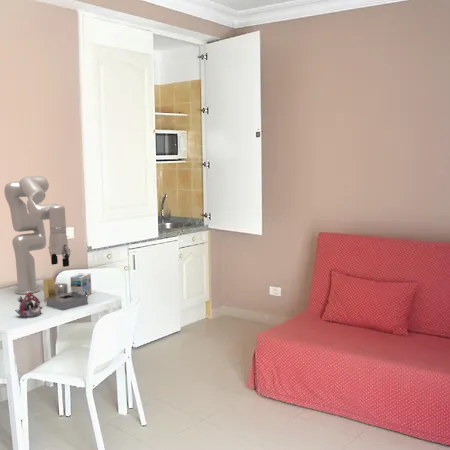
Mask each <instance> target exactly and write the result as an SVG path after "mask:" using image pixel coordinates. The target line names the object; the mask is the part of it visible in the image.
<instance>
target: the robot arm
mask: <svg viewBox="0 0 450 450" xmlns="http://www.w3.org/2000/svg"><path fill="white" fill-rule="evenodd" d="M49 184H50V183H49V181H48V179H47V178H46V177H44V176H42V175H37V176H36V175H35V176H30V175H29V176H25V177H24V176H23V178H20V180H19V181H17V180H16V181H9V182H7V183H6V184H5V185H4V189H3V190H4V197H5V200H6V202H7V204H8V206H9V210H10V211H9V212H10V217H11V224H12V227H13V231H15V232H18V233H21V232H22V233H21V234H17V235H15V236H14V237H13V239H12V241H11V242H12V247H13V251H14V257H15V264H16V265H15V268H16V281H17V283H16V285H15V286H16V287H17V289H15V290H14V293H15V294H17V295H26V294H27V293H28V292H31V293H32V294H34V293H37V292H40V287H37V279H36V264H35V263H36V262H35V258H34V256H33V255H32V254H31V252H32V251H39V250H43V249H45V248H46V246H47V237H46V231H45V225H44V221H46V220H47V221H48V220H49V239H48V240H49V241H48V242H49V243H48V247H47V248H48V250H49V251H48V252H49V254H50V255H49V256H50V259H51V260H50V261H51V265H52V266H53V265H57V264H59V262H58V261H59V260H58V256H59V255H61V257H62V258H61V260H62V267H63V268H65V267H69V266H70V255H71V252H72V251H71V248H69V243H68V236H67V221H66V220H67V219H66V209H65V206H64V205H62V204H57V203H46V204H41V203H42V202H43V201H44V200H45V199H46V196H47V195H46V192H47V191H48V189H49V186H50V185H49ZM21 198H27V201H26V203H25V201H24V200H23V199H21ZM31 231H32V232H31ZM24 232H30V233H24Z"/></svg>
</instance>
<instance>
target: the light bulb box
mask: <svg viewBox="0 0 450 450" xmlns="http://www.w3.org/2000/svg"><path fill="white" fill-rule="evenodd" d="M91 275H92V274H91V273H78V274H75V275H73V276H70V279H69V280H70V292H72V293H77V294H81V295H87V296H89V295H91V294H92V293H91V292H92V279H91V278H92V277H91ZM90 293H91V294H90ZM88 294H89V295H88Z"/></svg>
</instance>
